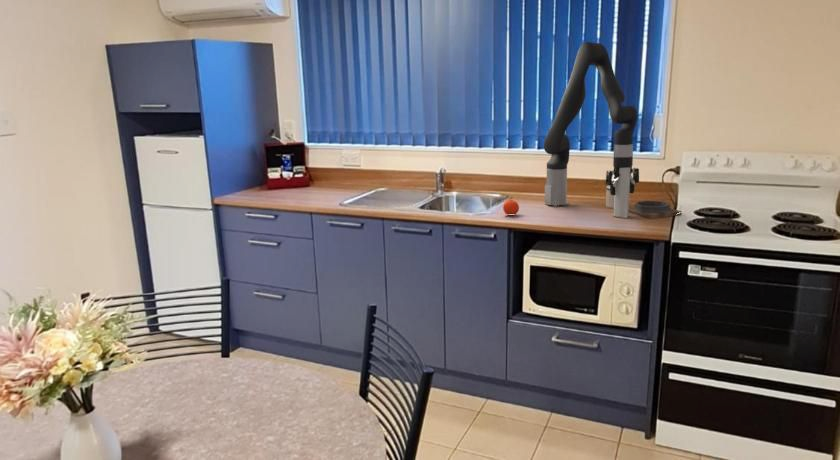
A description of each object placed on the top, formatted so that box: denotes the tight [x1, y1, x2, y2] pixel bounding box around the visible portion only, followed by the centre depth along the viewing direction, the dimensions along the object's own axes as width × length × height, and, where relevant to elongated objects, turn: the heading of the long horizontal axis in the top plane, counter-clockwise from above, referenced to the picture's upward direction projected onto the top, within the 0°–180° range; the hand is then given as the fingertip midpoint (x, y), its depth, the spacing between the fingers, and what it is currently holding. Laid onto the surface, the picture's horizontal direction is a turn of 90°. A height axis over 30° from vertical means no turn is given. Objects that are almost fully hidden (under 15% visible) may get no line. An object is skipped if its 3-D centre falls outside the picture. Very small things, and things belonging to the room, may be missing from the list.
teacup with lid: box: [605, 185, 614, 209], centre depth 266 cm, size 12×9×12 cm
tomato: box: [502, 199, 520, 215], centre depth 258 cm, size 8×7×7 cm
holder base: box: [629, 200, 682, 220], centre depth 250 cm, size 16×17×4 cm
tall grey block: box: [613, 167, 630, 219], centre depth 244 cm, size 7×6×21 cm
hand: (622, 194), depth 244 cm, fingers open, 8 cm apart
